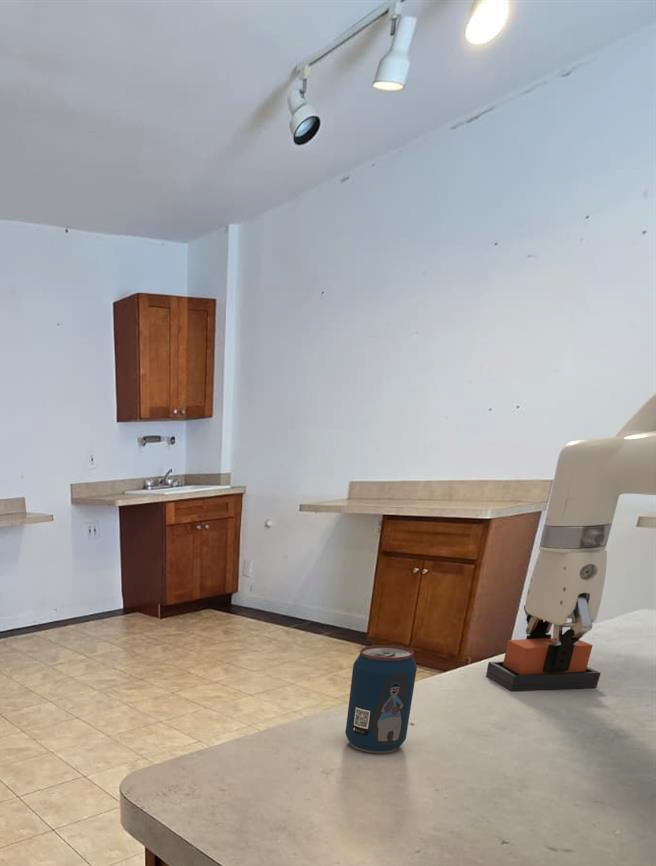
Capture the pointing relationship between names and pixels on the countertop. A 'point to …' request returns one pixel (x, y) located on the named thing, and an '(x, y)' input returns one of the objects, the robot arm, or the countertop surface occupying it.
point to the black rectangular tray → (541, 679)
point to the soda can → (380, 698)
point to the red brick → (541, 656)
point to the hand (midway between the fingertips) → (544, 664)
